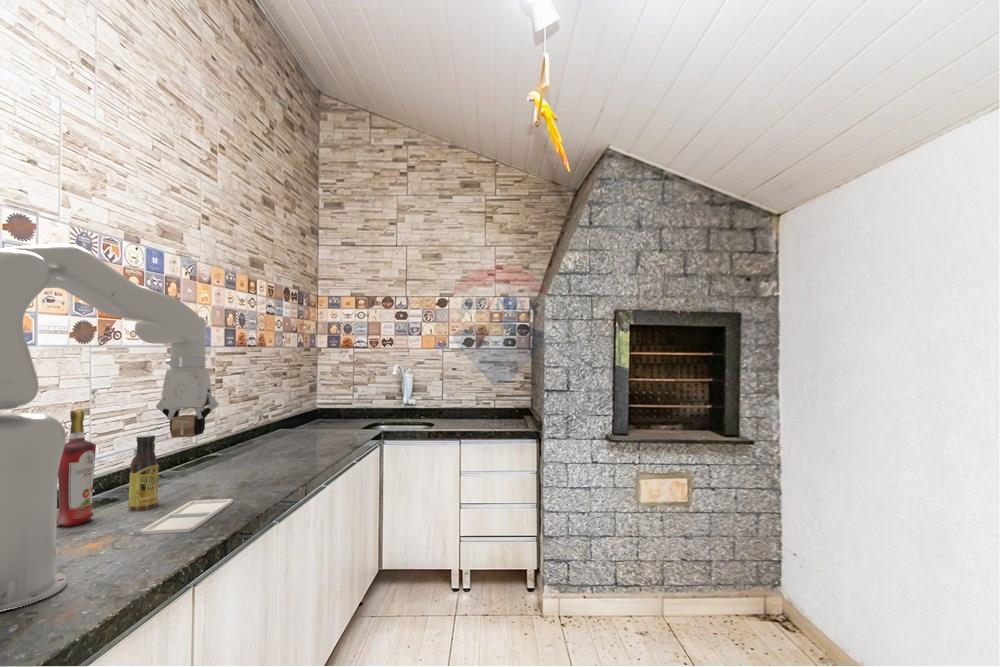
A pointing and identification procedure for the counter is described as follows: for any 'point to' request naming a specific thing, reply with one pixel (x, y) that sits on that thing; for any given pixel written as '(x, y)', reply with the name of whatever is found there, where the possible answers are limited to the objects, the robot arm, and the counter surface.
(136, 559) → the counter surface
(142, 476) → the sauce bottle
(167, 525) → the tray
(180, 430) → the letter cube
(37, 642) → the counter surface
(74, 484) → the liquor
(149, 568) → the counter surface
